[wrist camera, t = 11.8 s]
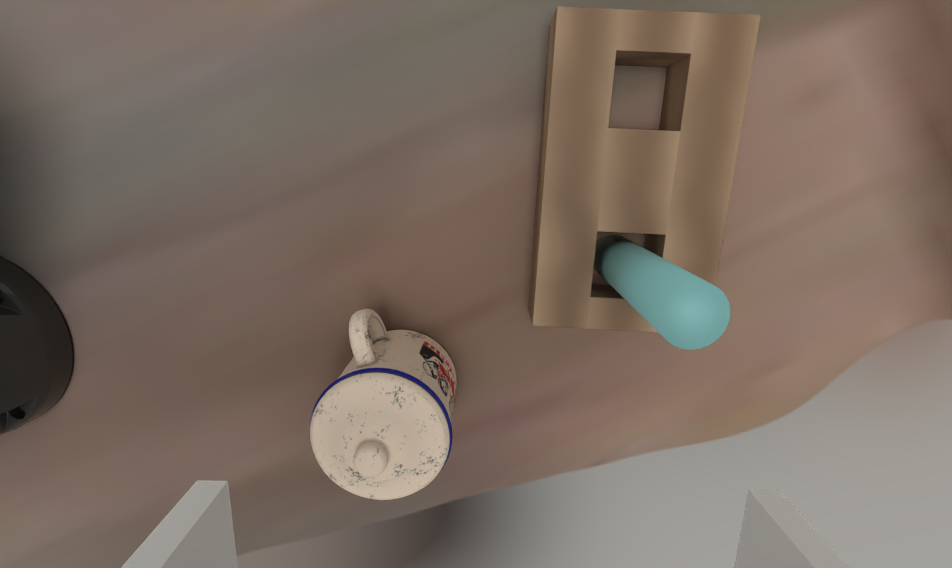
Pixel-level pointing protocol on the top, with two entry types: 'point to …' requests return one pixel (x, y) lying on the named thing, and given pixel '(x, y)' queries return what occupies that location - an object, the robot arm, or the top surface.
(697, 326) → the teal peg
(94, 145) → the top surface
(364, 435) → the teacup with lid
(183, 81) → the top surface
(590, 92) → the walnut hole block
